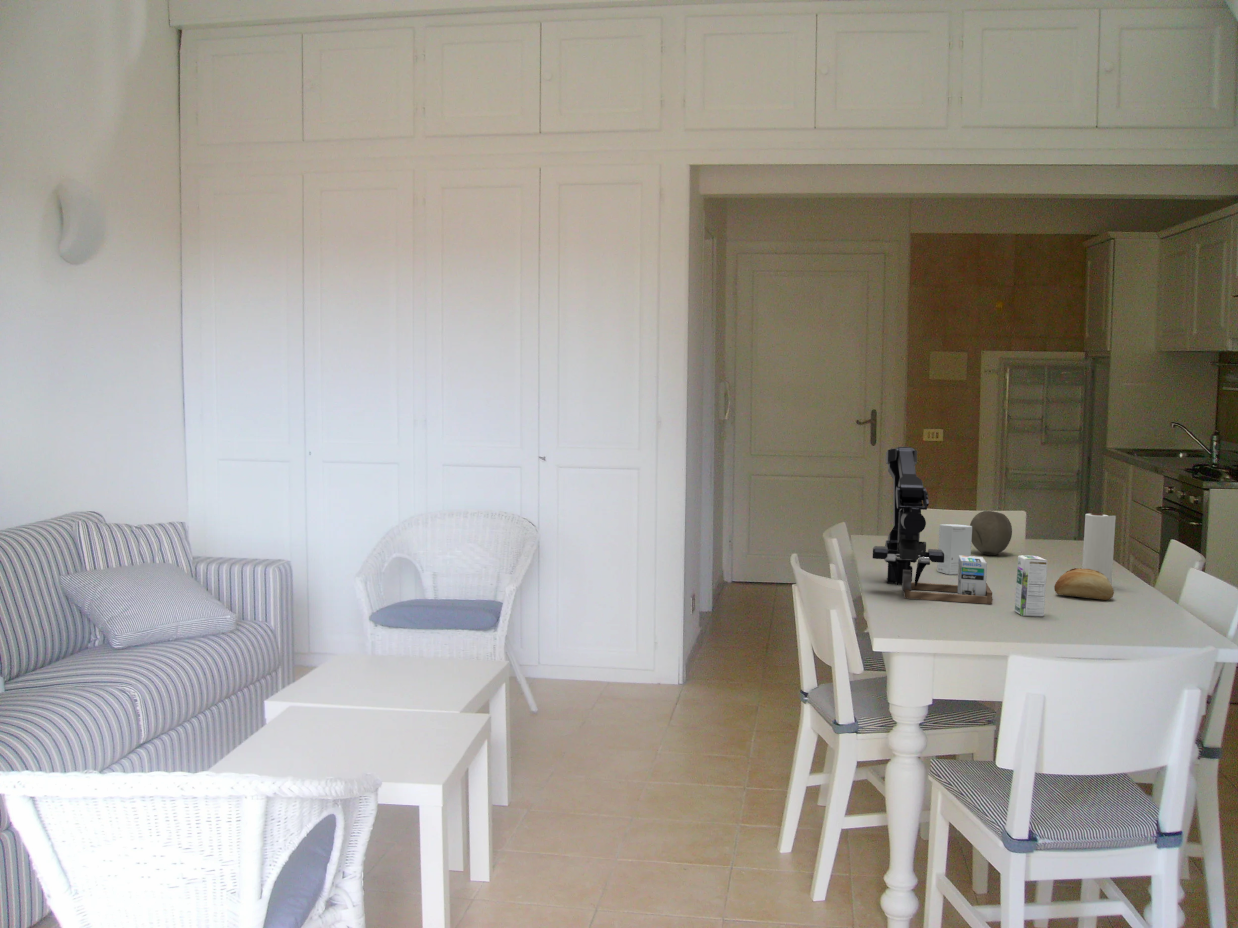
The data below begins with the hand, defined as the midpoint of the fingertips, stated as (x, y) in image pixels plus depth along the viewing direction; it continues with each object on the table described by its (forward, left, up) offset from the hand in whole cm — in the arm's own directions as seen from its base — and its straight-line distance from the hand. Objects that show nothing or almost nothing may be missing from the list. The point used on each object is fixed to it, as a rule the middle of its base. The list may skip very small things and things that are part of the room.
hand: (906, 585), depth 291 cm
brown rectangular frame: (+10, 0, -2) cm, 11 cm away
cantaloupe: (+30, +83, -2) cm, 88 cm away
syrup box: (+29, -17, -2) cm, 34 cm away
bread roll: (+47, +12, -3) cm, 49 cm away
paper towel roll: (+53, +28, -2) cm, 60 cm away
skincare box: (+15, +40, -2) cm, 43 cm away
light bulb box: (+17, 0, -2) cm, 17 cm away
